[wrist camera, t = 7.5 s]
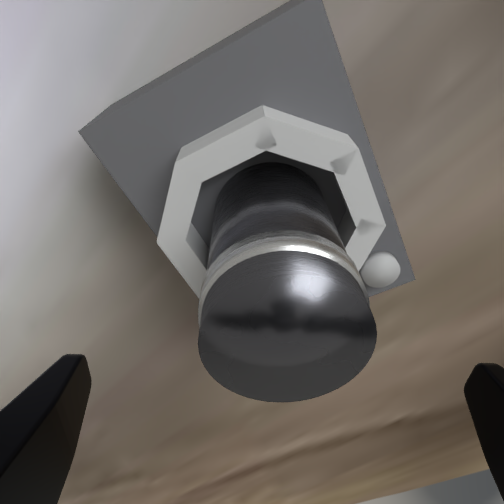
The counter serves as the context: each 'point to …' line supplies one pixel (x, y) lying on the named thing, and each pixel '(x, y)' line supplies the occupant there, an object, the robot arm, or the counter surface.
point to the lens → (281, 291)
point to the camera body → (251, 141)
